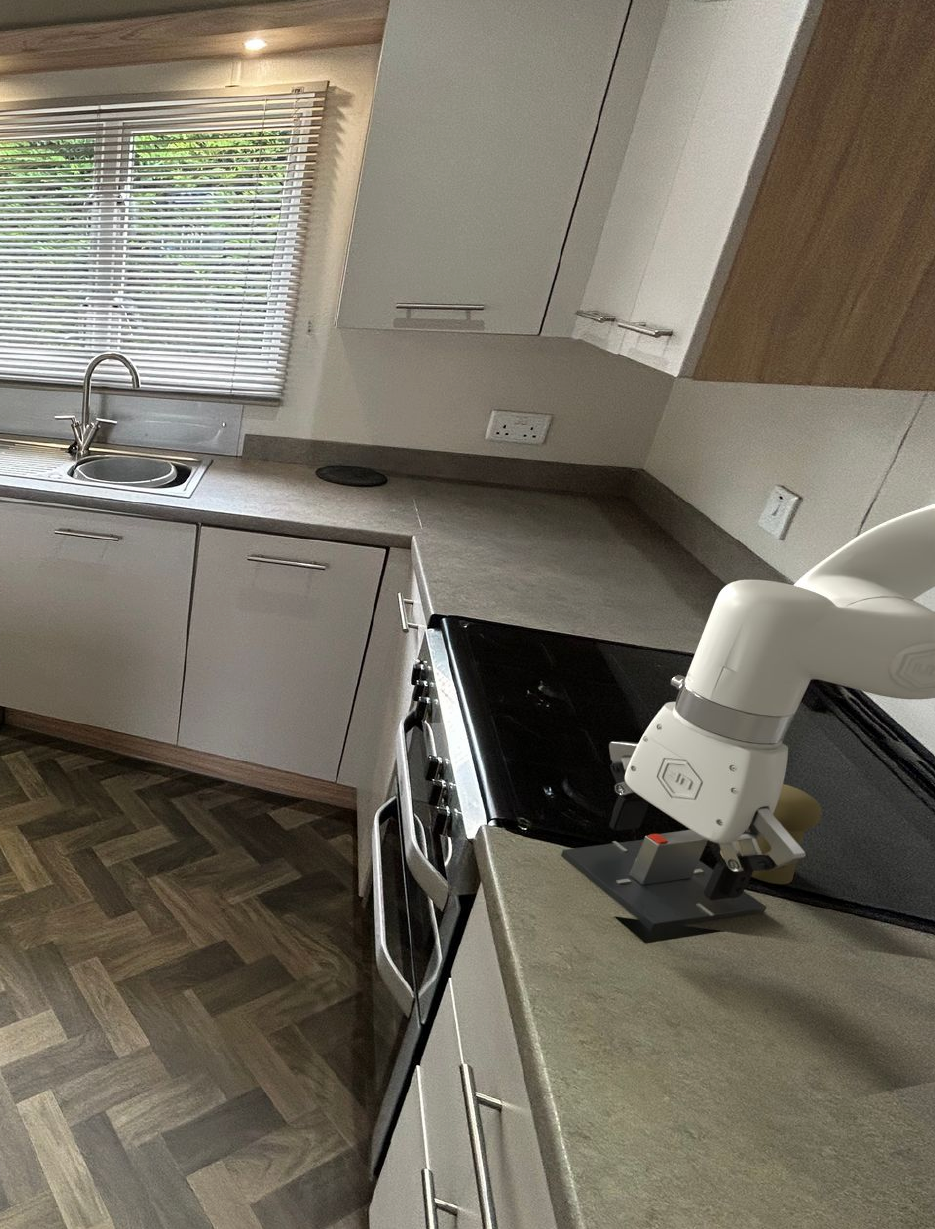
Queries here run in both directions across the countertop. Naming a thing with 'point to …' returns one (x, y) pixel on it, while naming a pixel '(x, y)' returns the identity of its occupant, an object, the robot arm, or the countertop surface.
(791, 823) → the cork
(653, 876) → the tap handle
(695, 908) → the plate
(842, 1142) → the countertop surface
